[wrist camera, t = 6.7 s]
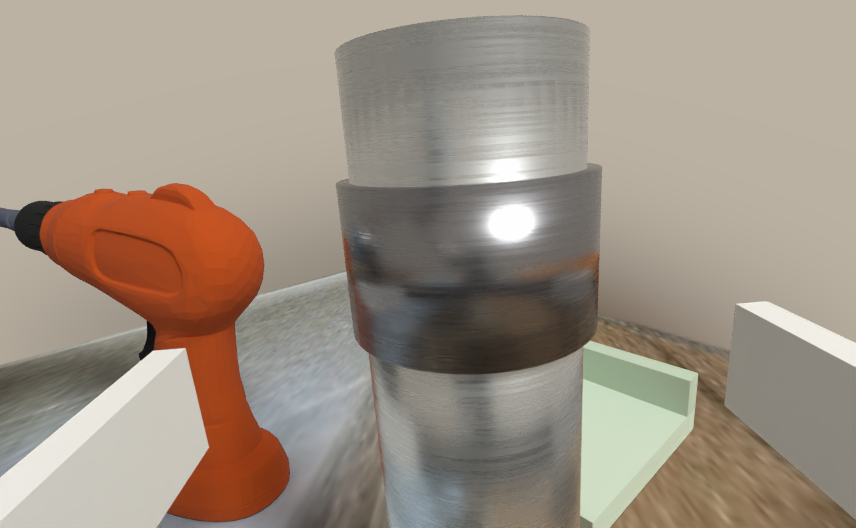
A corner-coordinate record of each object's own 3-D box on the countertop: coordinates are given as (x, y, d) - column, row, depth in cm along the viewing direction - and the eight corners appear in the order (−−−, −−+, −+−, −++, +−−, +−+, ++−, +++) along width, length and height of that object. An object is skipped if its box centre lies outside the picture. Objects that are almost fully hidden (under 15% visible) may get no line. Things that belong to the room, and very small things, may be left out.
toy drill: (70, 386, 30) (17, 152, 26) (311, 477, 24) (298, 186, 19) (-21, 430, 26) (-106, 159, 21) (241, 555, 20) (203, 205, 15)
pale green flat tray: (420, 436, 25) (415, 383, 24) (532, 367, 31) (531, 323, 30) (591, 548, 18) (593, 478, 17) (692, 428, 24) (698, 373, 23)
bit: (376, 776, 11) (271, 64, 7) (486, 653, 14) (458, 73, 10) (506, 993, 8) (461, -11, 4) (617, 785, 11) (658, 30, 7)
